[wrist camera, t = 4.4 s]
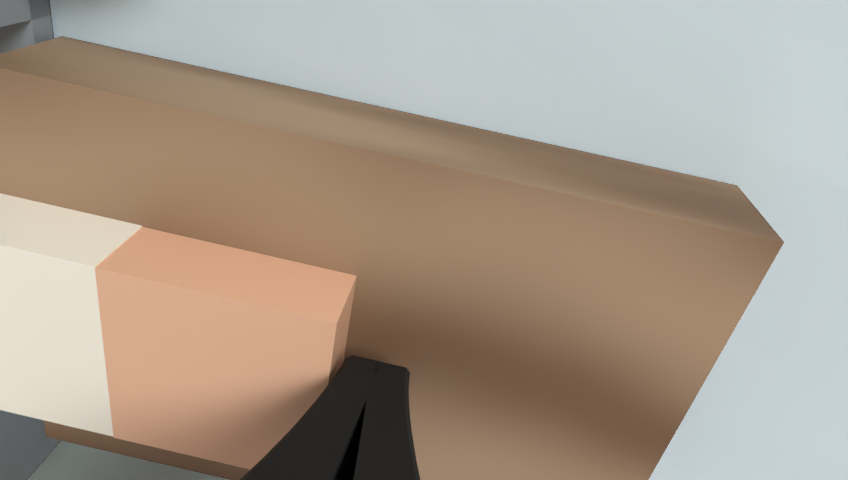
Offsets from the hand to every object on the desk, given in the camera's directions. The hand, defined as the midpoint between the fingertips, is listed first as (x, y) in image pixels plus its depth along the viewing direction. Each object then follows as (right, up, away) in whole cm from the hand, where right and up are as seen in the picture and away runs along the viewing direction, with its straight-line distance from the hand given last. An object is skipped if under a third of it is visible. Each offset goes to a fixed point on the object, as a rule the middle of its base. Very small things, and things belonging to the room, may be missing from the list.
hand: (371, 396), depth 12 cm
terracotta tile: (-3, +1, +1) cm, 3 cm away
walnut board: (0, +2, +3) cm, 4 cm away
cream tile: (-7, +2, +1) cm, 8 cm away
